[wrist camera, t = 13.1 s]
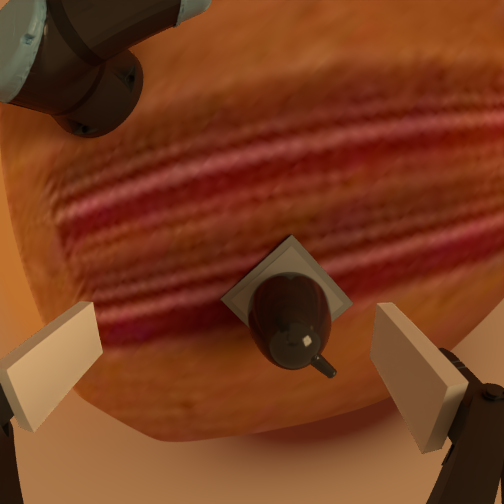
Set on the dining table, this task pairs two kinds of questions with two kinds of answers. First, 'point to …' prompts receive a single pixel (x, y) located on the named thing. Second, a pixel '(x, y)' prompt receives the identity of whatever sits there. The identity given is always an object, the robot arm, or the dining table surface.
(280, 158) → the dining table surface
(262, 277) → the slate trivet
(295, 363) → the pump dispenser
